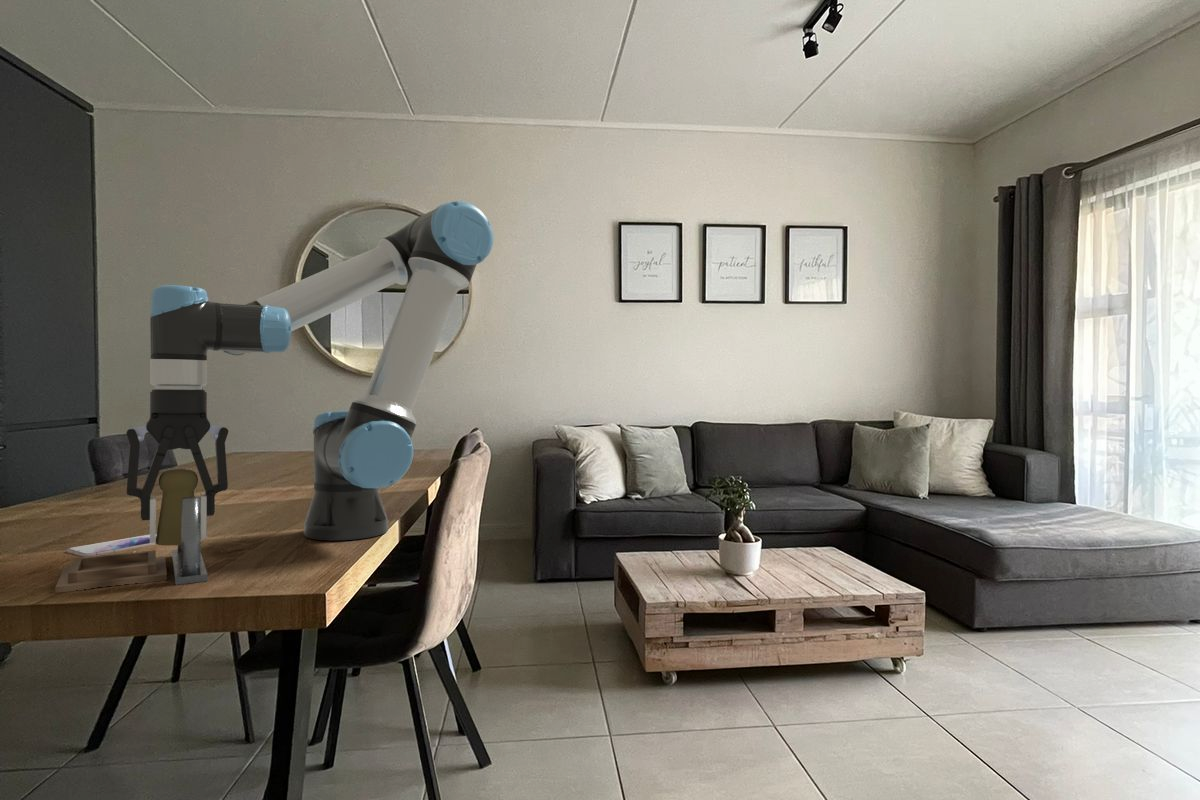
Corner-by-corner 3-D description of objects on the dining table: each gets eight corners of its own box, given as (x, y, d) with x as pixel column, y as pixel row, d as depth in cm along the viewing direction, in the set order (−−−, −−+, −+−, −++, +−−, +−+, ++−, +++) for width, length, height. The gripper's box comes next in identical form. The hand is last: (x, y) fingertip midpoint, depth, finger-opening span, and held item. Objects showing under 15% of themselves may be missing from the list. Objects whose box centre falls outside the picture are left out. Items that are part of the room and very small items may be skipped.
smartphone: (177, 538, 133) (86, 554, 120) (177, 543, 133) (86, 560, 120) (156, 532, 137) (64, 548, 124) (155, 537, 137) (64, 553, 124)
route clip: (199, 553, 123) (198, 481, 123) (207, 581, 106) (207, 498, 106) (171, 556, 121) (171, 483, 121) (175, 584, 104) (174, 500, 104)
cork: (185, 535, 117) (185, 466, 117) (209, 539, 114) (209, 469, 114) (146, 542, 112) (146, 470, 111) (171, 547, 109) (171, 472, 109)
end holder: (165, 561, 118) (164, 547, 118) (166, 580, 106) (166, 565, 106) (64, 571, 111) (64, 557, 111) (55, 593, 100) (55, 576, 100)
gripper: (244, 388, 121) (244, 529, 121) (105, 387, 111) (104, 540, 111) (250, 389, 114) (249, 537, 115) (102, 387, 104) (102, 550, 105)
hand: (178, 538), depth 113 cm, fingers closed on cork, 6 cm apart
